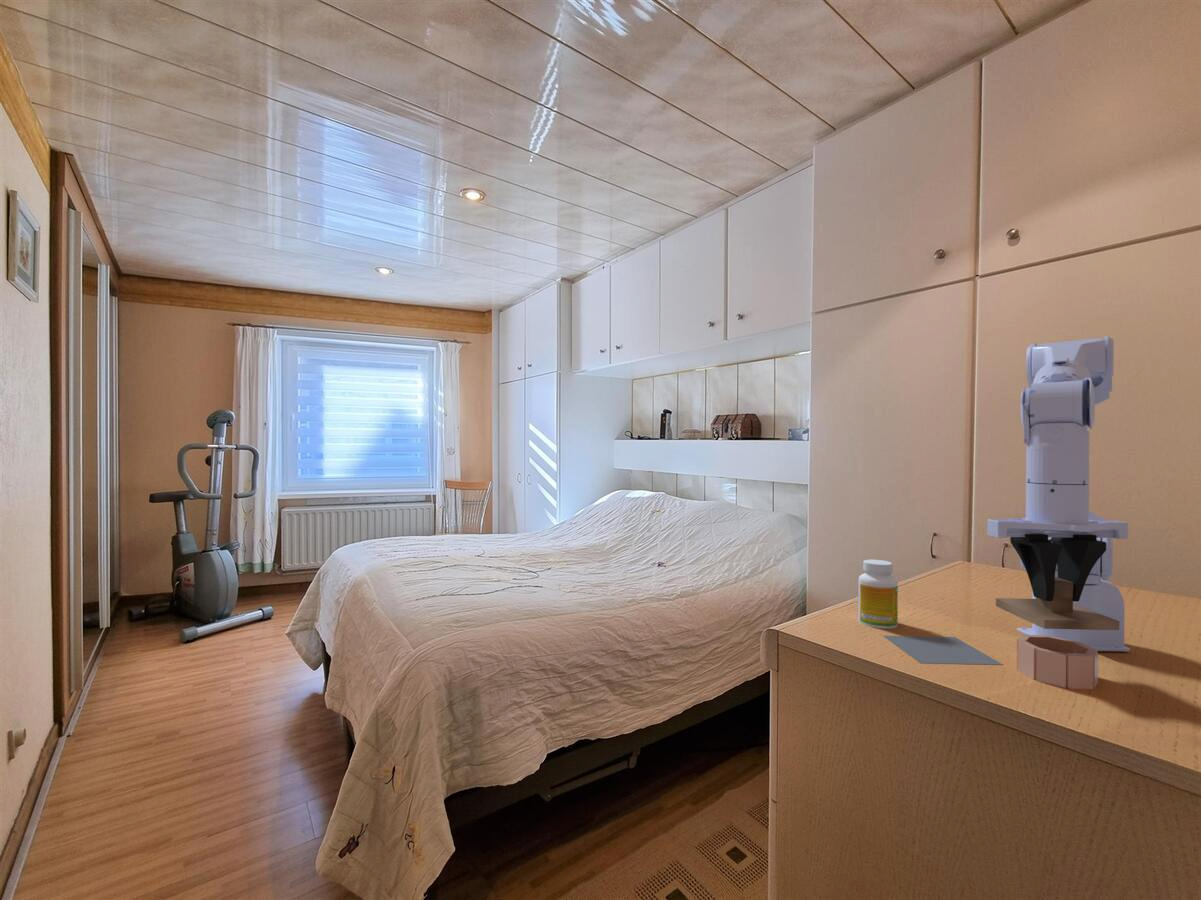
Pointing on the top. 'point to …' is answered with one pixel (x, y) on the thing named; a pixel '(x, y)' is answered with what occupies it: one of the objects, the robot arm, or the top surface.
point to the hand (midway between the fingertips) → (1056, 599)
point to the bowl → (1057, 661)
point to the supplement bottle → (878, 595)
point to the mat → (941, 650)
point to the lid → (1058, 611)
